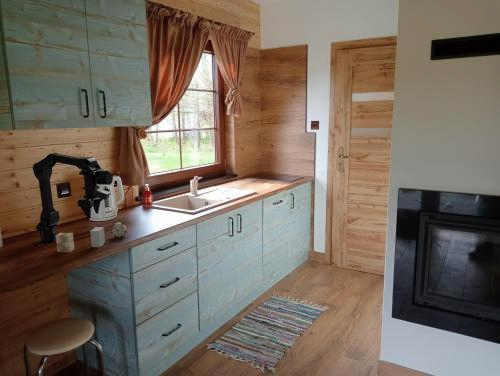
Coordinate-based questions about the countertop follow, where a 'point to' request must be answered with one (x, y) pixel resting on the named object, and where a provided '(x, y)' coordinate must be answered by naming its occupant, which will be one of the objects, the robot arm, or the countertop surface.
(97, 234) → the grey block
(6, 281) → the countertop surface
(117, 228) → the grey knobbly lump
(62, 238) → the birch block
